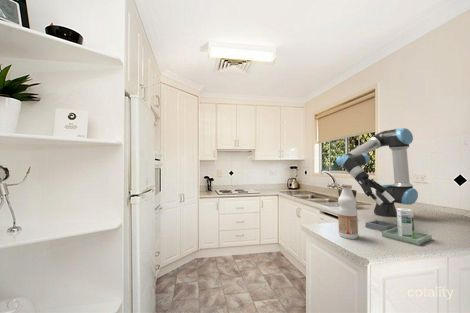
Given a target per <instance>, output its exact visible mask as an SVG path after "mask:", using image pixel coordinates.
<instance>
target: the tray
mask: <svg viewBox="0 0 470 313" xmlns="http://www.w3.org/2000/svg"><path fill="white" fill-rule="evenodd" d="M414 235H415V238H408V237H404V236H400V235H398V226H397V227H395V228H392V229H389V230H386V231H381V237H383V238H388V239H390V240H394V241H397V242H402V243H406V244H409V245H414V246H421V245H424V244H425V243H427V242H430V241H432V240H433V239H432V238H433V237H432V234H430V233H425V232H420V231H415V230H414Z"/></svg>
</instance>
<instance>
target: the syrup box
mask: <svg viewBox="0 0 470 313" xmlns="http://www.w3.org/2000/svg"><path fill="white" fill-rule="evenodd" d="M396 210H397V216H396V220H397V223H396V224H397V228H398V235H400V236H404V237H408V238H415V235H414V231H415V219H414V218H415V216H414V210H413V209H411V208H400V207H399V208H396Z"/></svg>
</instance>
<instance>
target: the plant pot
mask: <svg viewBox="0 0 470 313" xmlns="http://www.w3.org/2000/svg"><path fill="white" fill-rule="evenodd" d="M342 189H343V188H340V189H338V190H337V193H338V194H337V195H338V198H339V197H340V195H341V192H342ZM351 190H352V192H353V195H354V197H355V199H357V198H356V197H357V190H356V189H351Z"/></svg>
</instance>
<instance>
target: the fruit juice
mask: <svg viewBox="0 0 470 313" xmlns="http://www.w3.org/2000/svg"><path fill="white" fill-rule="evenodd" d="M352 188H353V186H352V185H351V184H341V189H342V192H341V195H340V197H339V196H338V199H337V202H338V209H337V214H338V215H337V216H338V219H337V220H338V236H339V237H341V238H344V239H349V240H356V239H358V237H359V225H358V223H359V222H358V219H359V218H358V209H357V204H358V203H357V202H358V201H357V198H355V197H354V195H353V192H352V190H353V189H352Z"/></svg>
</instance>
